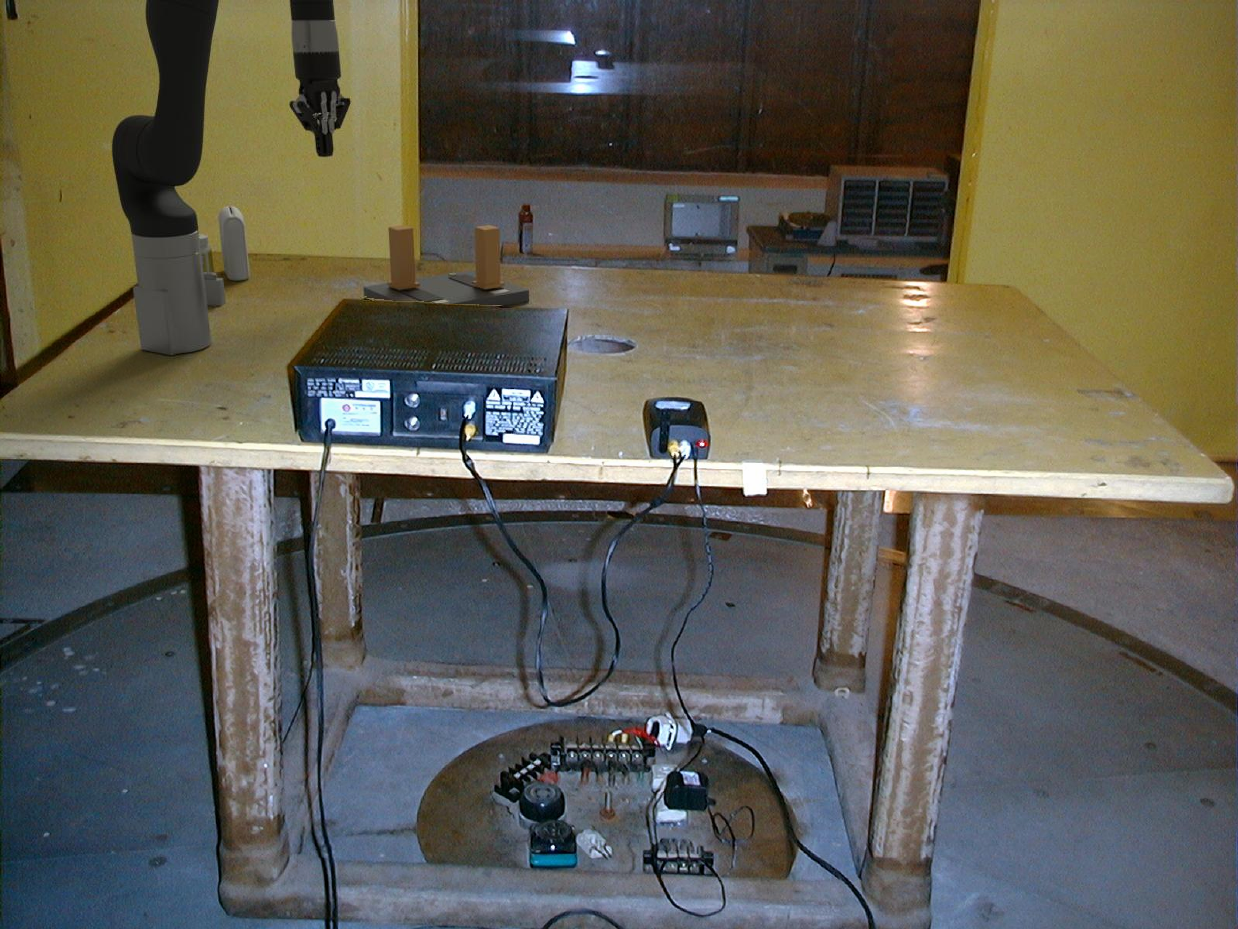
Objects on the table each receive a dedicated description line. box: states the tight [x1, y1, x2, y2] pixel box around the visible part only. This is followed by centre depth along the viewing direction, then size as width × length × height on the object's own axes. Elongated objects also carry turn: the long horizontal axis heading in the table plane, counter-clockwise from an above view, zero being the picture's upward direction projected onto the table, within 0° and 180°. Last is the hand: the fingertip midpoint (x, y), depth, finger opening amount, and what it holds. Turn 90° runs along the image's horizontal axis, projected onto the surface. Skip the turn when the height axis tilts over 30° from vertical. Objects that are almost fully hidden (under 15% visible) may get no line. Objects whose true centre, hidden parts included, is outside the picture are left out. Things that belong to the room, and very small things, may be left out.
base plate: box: [362, 269, 530, 306], centre depth 209 cm, size 22×18×2 cm
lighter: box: [203, 272, 226, 307], centre depth 203 cm, size 7×2×8 cm, turn 83°
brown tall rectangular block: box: [472, 224, 505, 289], centre depth 208 cm, size 4×4×10 cm
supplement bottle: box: [199, 233, 215, 273], centre depth 216 cm, size 5×5×8 cm
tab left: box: [387, 224, 420, 290], centre depth 206 cm, size 4×4×10 cm
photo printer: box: [217, 205, 251, 281], centre depth 221 cm, size 10×4×12 cm, turn 21°
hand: (325, 156), depth 209 cm, fingers closed
